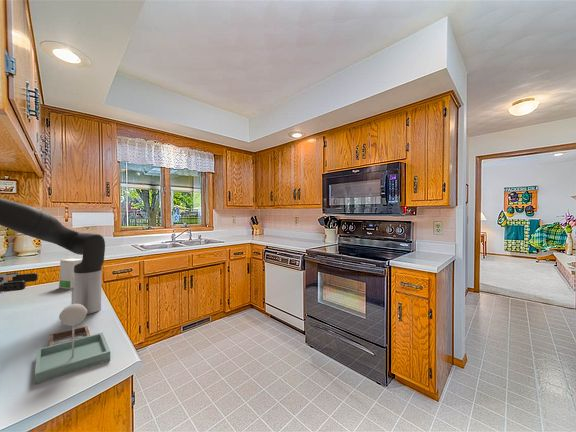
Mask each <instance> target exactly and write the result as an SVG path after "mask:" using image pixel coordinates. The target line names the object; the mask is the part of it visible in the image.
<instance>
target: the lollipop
mask: <svg viewBox="0 0 576 432" xmlns="http://www.w3.org/2000/svg"><path fill="white" fill-rule="evenodd" d="M87 315H88V314H87V309H86V308H85V307H84V306H83V305H81V304H72V305H71V304H69V305H67V306H65V307H64V308H63V309H62V311H61V312H60V313H59V315H58V319H59V320H60V322H61V324H63V325H65V326H67V327H72V336H71V337H72V338H71V340H72V357H73V356H74V339H75V335H74V329H75V326H76V325H78V324H80V323H82V322H83V321H84V320H85V318H86V316H87Z"/></svg>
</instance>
